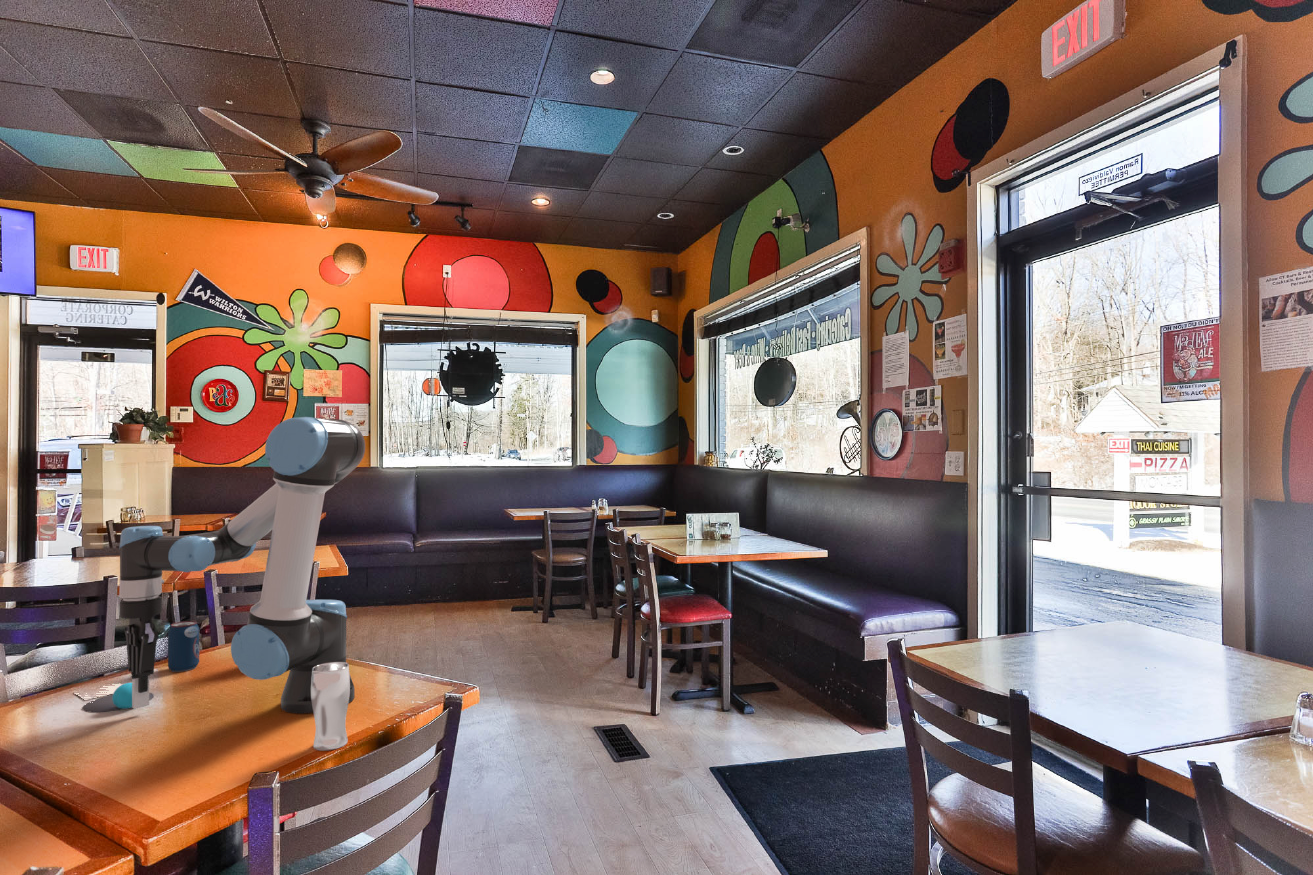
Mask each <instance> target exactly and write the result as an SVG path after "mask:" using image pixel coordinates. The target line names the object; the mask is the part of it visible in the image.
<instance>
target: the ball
mask: <svg viewBox="0 0 1313 875" xmlns="http://www.w3.org/2000/svg"><path fill="white" fill-rule="evenodd" d="M112 699H113V703H114V704H115V706H117V707H118V708H122V709H121V710H125V709H126V710H127V709H128V710H129V709H131V708H132V682H127V683H126V682H125V683H123V684H122V685H121V686H119V687H118V688H117V689H116V690H115V692H114V694H113V697H112Z"/></svg>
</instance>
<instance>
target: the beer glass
mask: <svg viewBox="0 0 1313 875" xmlns="http://www.w3.org/2000/svg"><path fill="white" fill-rule="evenodd" d="M349 666H350V664H349V663H348V662H346V663H345V662H330V663H324V664H320V665H317V666H315V667H313V668H312V677H311V702H312V708H313V713H312V714H313V717H314V723H315V734H314V739H313V746H312V748H313V749H314V750H316V751H321V752H323V751H326V752H327V751H328V752H329V751H331V750H332V751H333V750H336V749H340V748H343V747H344V746H346V745H347V744H348V741H349V739H348V734H347V729H346V727H347V726H346V721H347V719H346V718H347V712H348V708H349V696H350V676H351V674H350V667H349Z"/></svg>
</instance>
